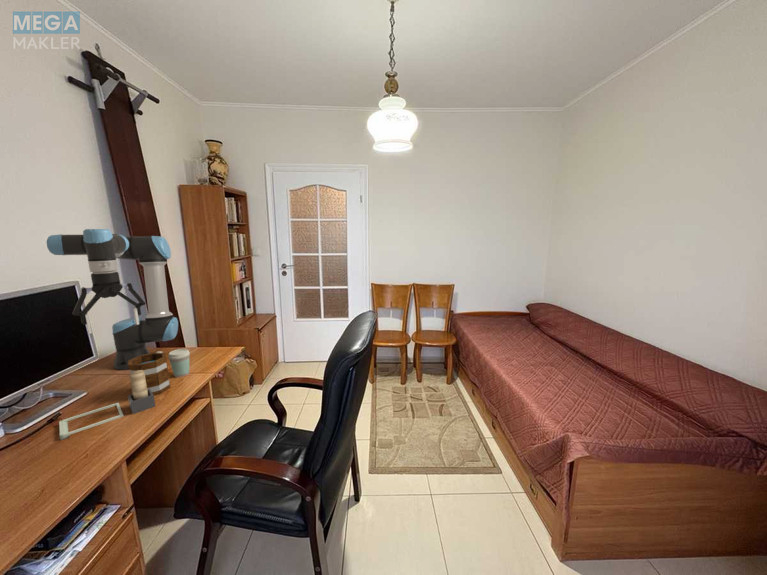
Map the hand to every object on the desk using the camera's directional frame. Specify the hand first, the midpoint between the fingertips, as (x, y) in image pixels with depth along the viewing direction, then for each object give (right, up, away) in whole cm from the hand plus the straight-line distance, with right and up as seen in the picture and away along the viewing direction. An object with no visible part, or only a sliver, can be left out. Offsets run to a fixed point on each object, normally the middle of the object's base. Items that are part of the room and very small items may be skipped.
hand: (114, 328), depth 115 cm
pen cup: (+9, -31, +3) cm, 32 cm away
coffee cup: (+6, -26, +29) cm, 40 cm away
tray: (-4, -33, -5) cm, 33 cm away
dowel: (+9, -30, +2) cm, 32 cm away
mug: (+2, -29, +18) cm, 34 cm away
